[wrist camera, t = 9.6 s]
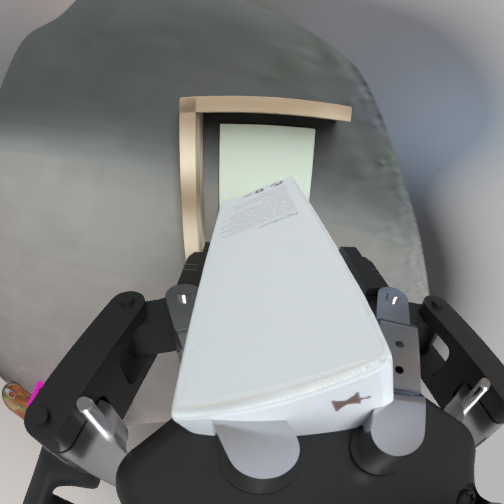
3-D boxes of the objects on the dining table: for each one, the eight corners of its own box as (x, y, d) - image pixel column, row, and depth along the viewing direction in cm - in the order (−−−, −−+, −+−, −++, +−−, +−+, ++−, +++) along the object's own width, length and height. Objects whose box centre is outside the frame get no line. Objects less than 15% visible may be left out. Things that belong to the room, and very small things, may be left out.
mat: (301, 252, 27) (302, 254, 27) (220, 250, 27) (220, 252, 26) (314, 128, 21) (315, 128, 21) (220, 123, 21) (220, 123, 21)
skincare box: (218, 203, 15) (157, 414, 4) (292, 173, 14) (404, 351, 3) (260, 288, 17) (271, 483, 7) (324, 265, 17) (395, 451, 6)
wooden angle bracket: (318, 269, 28) (325, 289, 25) (194, 266, 28) (188, 286, 25) (337, 107, 20) (351, 107, 17) (189, 100, 20) (179, 97, 17)
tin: (52, 409, 49) (42, 432, 41) (50, 411, 50) (41, 433, 42) (9, 376, 44) (-3, 398, 36) (9, 379, 45) (-3, 400, 37)
